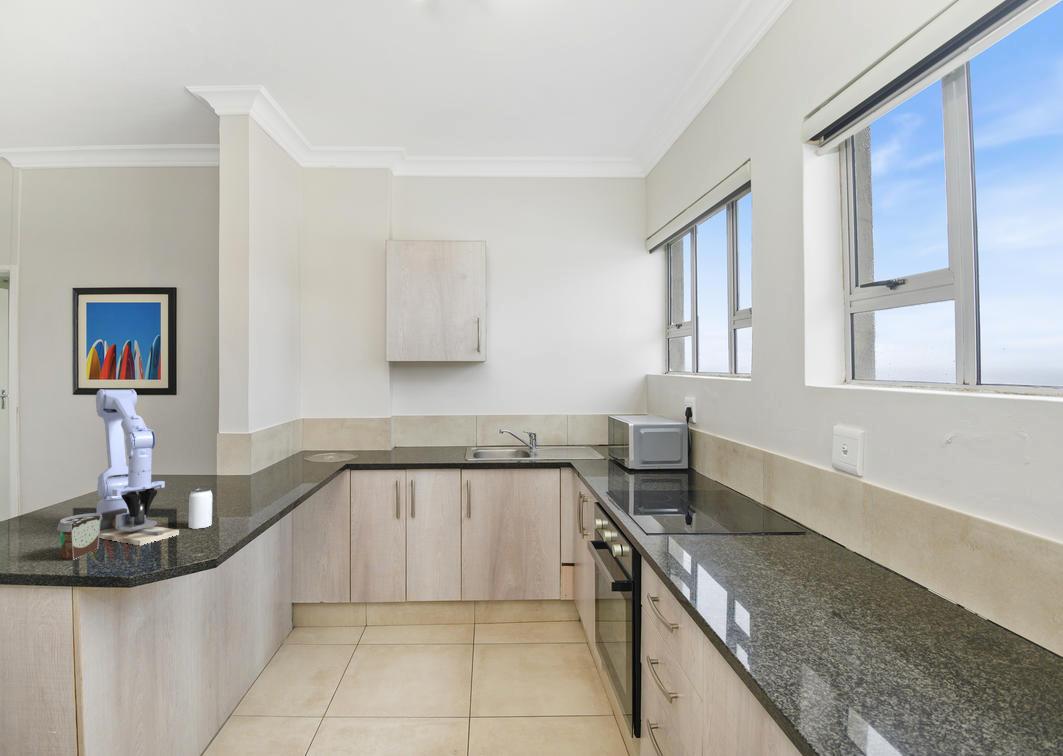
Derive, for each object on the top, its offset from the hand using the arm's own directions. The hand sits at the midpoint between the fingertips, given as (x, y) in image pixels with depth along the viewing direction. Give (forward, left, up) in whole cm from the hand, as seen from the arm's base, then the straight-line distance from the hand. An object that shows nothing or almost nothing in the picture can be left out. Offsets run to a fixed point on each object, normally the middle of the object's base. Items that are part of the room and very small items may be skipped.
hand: (139, 515), depth 167 cm
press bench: (-2, 0, -6) cm, 7 cm away
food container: (+1, -18, -7) cm, 19 cm away
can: (+7, +15, -7) cm, 18 cm away
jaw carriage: (-1, 0, -4) cm, 4 cm away
